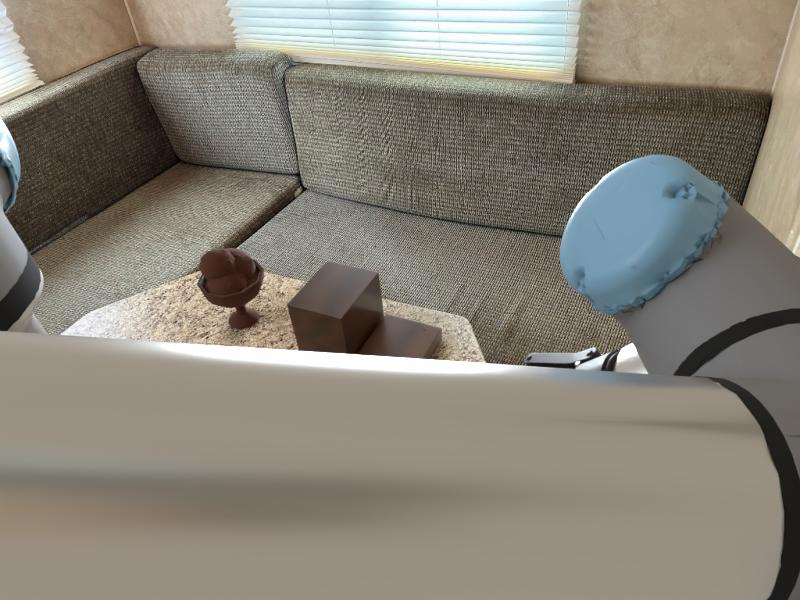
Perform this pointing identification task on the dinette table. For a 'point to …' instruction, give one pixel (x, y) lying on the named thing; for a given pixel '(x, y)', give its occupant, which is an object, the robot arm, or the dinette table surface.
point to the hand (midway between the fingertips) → (446, 462)
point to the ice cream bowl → (231, 283)
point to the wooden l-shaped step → (355, 317)
